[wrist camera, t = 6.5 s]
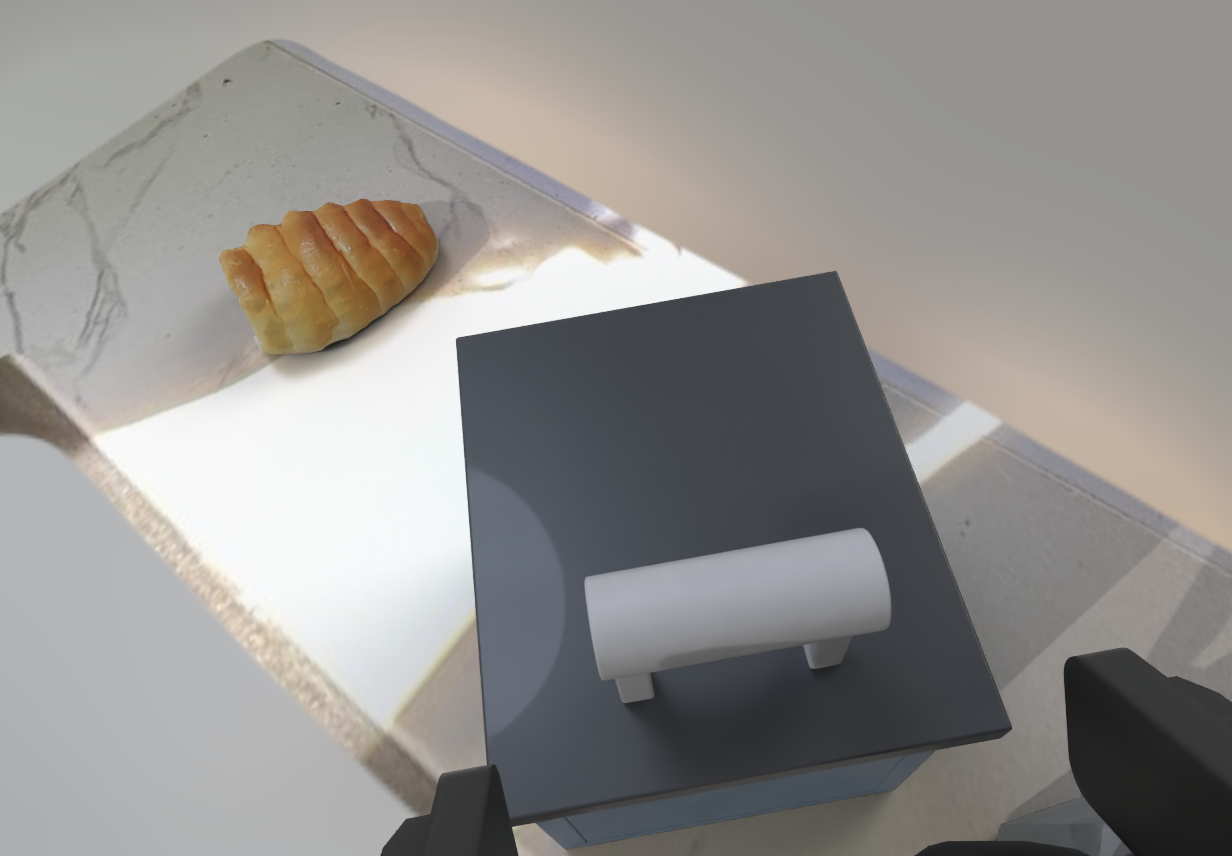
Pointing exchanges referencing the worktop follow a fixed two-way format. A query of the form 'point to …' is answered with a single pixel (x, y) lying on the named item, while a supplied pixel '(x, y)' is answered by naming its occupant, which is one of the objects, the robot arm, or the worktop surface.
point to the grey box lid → (703, 555)
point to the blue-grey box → (732, 802)
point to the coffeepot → (1044, 836)
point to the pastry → (328, 271)
